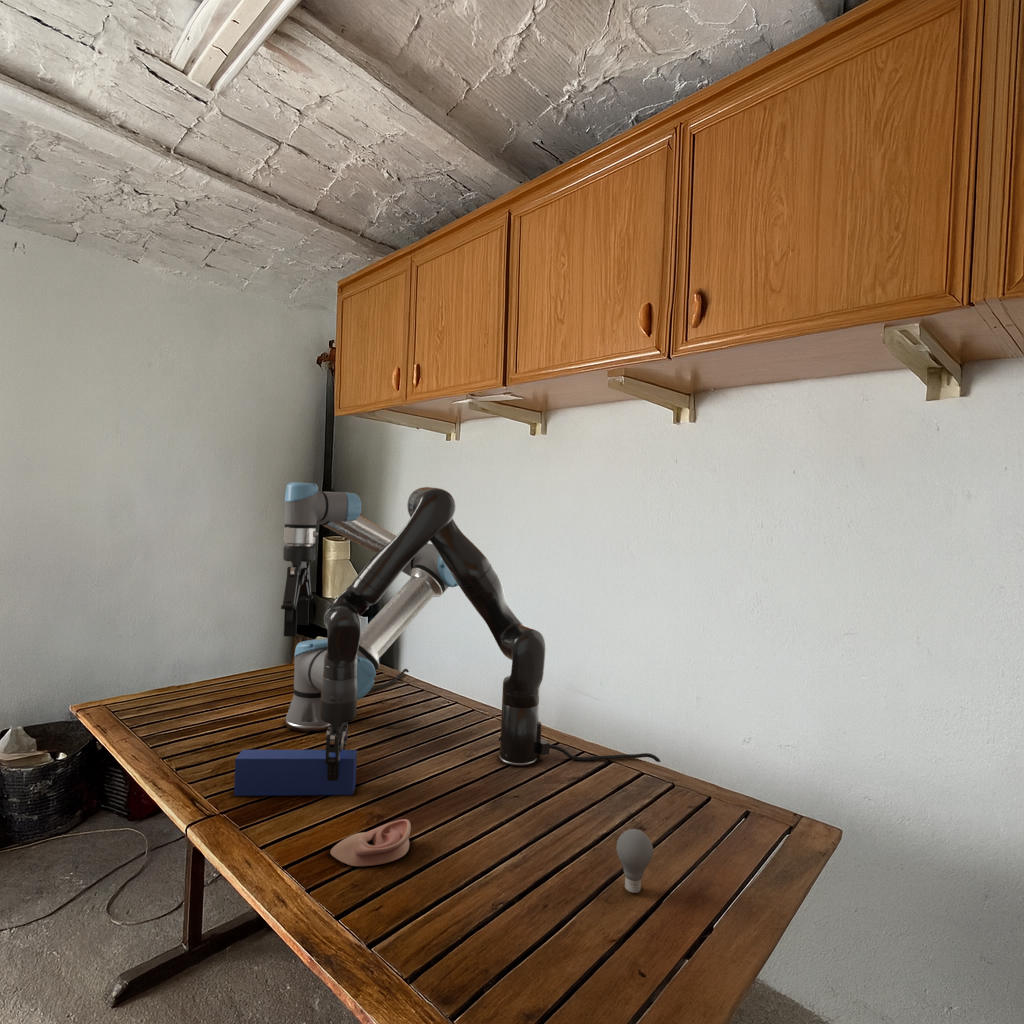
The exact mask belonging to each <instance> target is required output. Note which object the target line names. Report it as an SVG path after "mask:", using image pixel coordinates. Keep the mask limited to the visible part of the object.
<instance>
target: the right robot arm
mask: <svg viewBox="0 0 1024 1024" xmlns="http://www.w3.org/2000/svg"><path fill="white" fill-rule="evenodd" d="M406 506H407V512H408V514H409V517H410V518H409V520H407V522H406V524H405V526H403V528H402V529H401V530H400V532H398V533H397V535H396V537H395V538H394V539H393V540H392V541H391V542H390V543H388V544H387V545H386V546H385V547H384V548H382V549H381V550H380V551H379V552H378V553H377V554H376V553H375V555H374V556H372V558H371V559H370V560H369V561H368V562H367V563H366V565H364V567H363V568H362V569H361V570H360V572H359V573H358V574H357V576H356V577H355V578H354V580H353V581H352V583H351V584H350V585H349V586H348V587H346V588H345V589H344V590H343V591H342V592H341V593H340V594H339V595H338V596H337V597H336V598H335V599H334V600H333V601H332V602H331V603H330V605H329V606H328V607H327V609H326V611H325V613H324V616H323V624H324V627H325V628H326V630H327V638H328V642H327V651H326V653H325V656H324V668H323V681H322V687H321V710H320V718H321V720H322V721H324V722H328V723H330V724H331V725H329V729H327V730H326V736H325V739H326V740H325V750H326V759H325V763H326V764H328V771H327V780H328V781H336V780H338V776H339V761H340V753H341V752H342V751H343V750H346V748H345V747H346V746H347V741H348V738H349V736H348V735H349V734H348V732H349V722H352V721H354V720H355V719H356V718H357V708H358V707H357V705H358V703H357V702H358V700H357V652H358V647H359V642H360V636H361V631H362V620H361V616H362V615H363V614H364V613H365V612H366V610H367V609H368V608H369V607H371V606H372V605H375V604H377V603H378V602H379V601H380V599H382V597H383V596H384V595H385V593H386V592H387V591H388V589H389V588H390V587H391V586H392V584H393V583H394V582H395V581H396V579H397V578H398V577H399V576H400V575H401V573H403V572H402V570H403V569H404V568H405V567H406V565H407V564H408V563H409V562H410V561H411V560H412V559H413V557H414V556H415V555H416V554H417V553H418V552H419V551H420V550H421V549H422V548H423V547H424V546H425V545H426V544H427V543H428V544H429V542H430V544H433V545H434V546H435V548H436V549H437V551H438V552H439V554H440V556H441V558H442V559H443V561H444V563H445V565H446V566H447V568H448V569H449V571H450V573H451V574H452V576H453V577H454V579H455V581H456V582H457V584H458V585H459V586H458V587H459V588H460V590H461V591H462V593H463V594H464V596H465V597H466V598H467V600H468V601H469V602H470V604H471V605H472V606H473V608H474V609H475V610H476V612H477V613H478V615H479V616H480V617H481V618H482V620H483V621H484V622H485V624H486V625H487V627H488V629H489V631H490V632H491V635H492V636H493V638H494V641H495V643H496V645H497V646H498V648H499V650H500V652H502V654H503V655H504V657H506V658H507V659H509V660H511V670H510V674H509V675H507V676H505V677H504V678H503V680H502V692H501V693H502V694H501V695H502V696H501V718H500V720H501V721H500V736H499V737H498V742H499V754H498V755H499V756H498V759H499V761H500V762H502V763H503V764H505V765H508V766H511V767H527V766H528V767H529V766H531V765H534V764H536V762H539V761H541V756H546V755H550V749H552V750H555V751H558V752H561V753H562V754H564V755H565V756H566V757H567V758H568V759H570V760H573V761H578V762H591V761H601V760H604V761H605V760H620V759H643V758H650V759H652V760H654V761H655V762H657V763H661V762H662V761H661V759H660V758H659V757H657V756H656V755H655V754H653V753H648V752H644V753H643V752H641V753H636V754H635V753H629V754H628V753H626V754H625V753H624V754H611V755H610V754H607V755H592V756H577V755H573V754H571V753H570V752H568V751H567V750H566V749H565V748H563V747H561V746H559V745H555V744H551V743H550V742H549V741H548V740H546V739H545V738H544V737H542V722H541V721H540V720H539V717H540V716H539V714H540V713H539V712H540V711H539V710H540V690H541V685H542V682H543V680H544V675H545V666H546V656H547V655H546V653H547V648H546V647H547V643H546V640H545V637H544V635H543V633H542V632H541V631H539V630H538V629H536V628H533V627H530V626H527V625H525V624H524V623H523V622H521V621H520V620H519V618H518V617H517V615H516V614H515V613H514V611H513V610H512V609H511V607H510V606H509V604H508V601H507V599H506V594H505V590H504V584H503V583H502V580H501V578H500V576H499V574H498V572H497V571H496V570H495V567H494V566H493V565H492V563H491V562H490V561H489V559H488V558H487V556H486V555H485V554H484V553H483V551H481V550H480V549H479V547H477V546H476V545H475V543H473V542H472V541H471V540H470V539H469V538H468V537H467V536H466V535H465V534H464V533H463V532H462V531H461V529H460V528H459V526H458V525H457V523H456V522H455V520H454V516H455V513H456V502H455V499H454V497H453V495H452V493H450V492H449V491H447V490H445V489H443V488H440V487H432V486H424V487H419V488H417V489H415V490H413V491H412V492H411V493H410V495H409V497H408V499H407V505H406ZM331 753H335V757H330V756H331Z"/></svg>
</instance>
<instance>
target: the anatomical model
mask: <svg viewBox="0 0 1024 1024" xmlns="http://www.w3.org/2000/svg"><path fill="white" fill-rule="evenodd" d="M411 825H412V824H411V822H410V820H409V819H406V818H404V819H403V818H402V819H396V820H394V821H391V822H387V823H385V824H382V825H380V826H377V827H375V828H373V829H370V830H367V831H363V832H358V833H354V834H352V835H349V836H348V837H345V838H344V839H342V840H341V841H339V842H338V843H336V844H335V845H334V846H332V848H331V849H330V850H329V851H330V852H329V854H330V855H331V856H332V857H333V858H334V859H335V860H337V861H339V862H341V863H342V864H344V865H345V864H346V865H347V866H351V867H368V866H369V867H370V866H377V865H383V864H387V863H391V862H394V861H397V860H399V859H400V858H402V857H404V856H405V855H406V854H407V853H408V852H409V849H410V839H409V837H410V834H411V830H412V829H411V828H412V826H411Z"/></svg>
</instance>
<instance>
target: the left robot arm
mask: <svg viewBox="0 0 1024 1024" xmlns="http://www.w3.org/2000/svg"><path fill="white" fill-rule="evenodd" d="M361 513H362V501H361V498H360V496H359V495H358V494H357V493H355V492H347V491H345V492H343V491H320V490H319V486H318V484H316V483H314V482H296V481H295V482H294V481H293V482H289V483H288V484H287V485H286V488H285V496H284V527H283V543H284V546H283V548H282V549H283V551H282V552H283V553H282V554H283V555H282V559H283V560H284V561H286V562H291V564H290V566H287V567H286V580H285V585H284V586H285V587H284V593H283V599H282V600H283V601H282V604H281V605H280V609H281V610H284V619H283V620H284V621H283V622H284V623H283V637H289V638H291V637H292V638H293V637H294V638H295V637H297V630H298V629H297V628H298V627H297V626H308V625H309V618H310V617H309V612H310V600H313V598H314V597H313V594H312V586H311V573H310V571H311V569H310V567H311V563H310V562H314V561H315V560H316V546H315V544H316V537H318V536H319V532H318V531H317V524H319V525H320V526H323V527H324V528H327V529H329V530H331V531H332V532H334V533H336V534H338V535H340V536H342V537H344V538H345V539H347V540H349V541H351V542H353V543H355V544H357V545H359V546H360V547H362V548H365V549H366V550H368V551H370V552H372V553H374V554H375V555H376V554H377V553H378V552H379V551H380V550H381V549H382V548H384V547H385V546H386V545H387V544H388V543H390V542H391V541H392V540H393V539H394V538H395V537H396V536H397V535H395V534H394V533H393V532H390V531H388V530H387V529H385V528H384V527H382V526H380V525H378V524H376V523H374V522H373V521H371V520H369V519H367V518H365V517H364V516H362V515H361ZM401 573H404V574H405V575H407V576H409V577H410V578H409V579H408V580H407V581H406V582H405V583H404V584H403V585H402V587H401V588H400V589H399V590H398V591H397V592H396V593H395V594H394V595H393V597H391V599H390V600H389V601H388V602H387V603H386V604H385V605H384V606H383V607H382V608H381V609H380V610H379V612H378V613H377V614H376V615H375V616H374V617H373V618H372V619H371V620H370V621H369V622H368V623H367V624H366V626H365V627H364V628H362V629H361V636H360V642H359V647H358V652H357V701H358V700H360V699H362V698H364V697H365V696H366V695H367V694H368V693H370V692H373V691H376V690H380V689H381V688H384V687H387V686H390V685H392V684H393V683H395V682H397V681H398V680H399V679H400V678H401V677H402V676H403V675H404V674H405V673H409V672H410V671H409V669H408V668H404V669H403V670H402V671H401V672H400V673H401V674H400V673H399V674H398V675H397V676H396V677H395V678H393V679H391V680H390V681H388V682H385V683H383V684H380V685H377V686H374V685H375V682H376V681H375V678H376V677H377V673H376V672H377V670H378V669H379V668H380V658H381V657H382V656H383V655H384V654H385V653H386V652H387V650H388V649H389V648H390V647H391V646H392V645H393V644H394V642H395V641H396V640H397V639H398V638H399V636H401V635H402V634H403V632H404V631H405V630H406V629H407V627H408V626H409V625H410V624H411V623H412V622H413V621H414V619H415V618H416V617H417V616H418V615H419V614H420V613H421V611H423V609H424V608H425V607H426V606H427V605H428V604H429V602H430V601H431V600H432V599H433V598H440V597H442V595H443V594H444V593H445V592H446V591H447V589H448V588H455V587H459V585H458V584H457V582H456V581H455V579H454V577H453V576H452V574H451V573H450V571H449V569H448V568H447V566H446V565H445V563H444V561H443V559H442V558H441V556H440V554H439V552H438V551H437V549H436V548H435V546H434V545H433V544H432V543H429V542H428V543H427V544H426V545H425V546H424V547H423V548H422V549H421V550H420V551H419V552H418V553H417V554H416V555H415V556H414V557H413V559H412V560H411V561H410V562H409V563H408V564H407V565H406V567H405V568H404V569H403V570H402V572H401ZM315 639H316V638H315ZM315 639H308V640H303V641H300V642H297V644H296V646H295V650H294V655H293V657H294V672H293V695H292V696H293V697H292V699H291V702H289V705H288V711H287V713H286V715H285V726H286V728H287V729H289V730H291V731H294V732H295V731H296V732H301V733H316V732H325V731H327V729H329V725H331V724H330V723H328V722H324V721H322V720H321V718H320V710H321V687H322V681H323V668H324V656H325V653H326V651H327V642H328V639H316V640H315Z"/></svg>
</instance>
